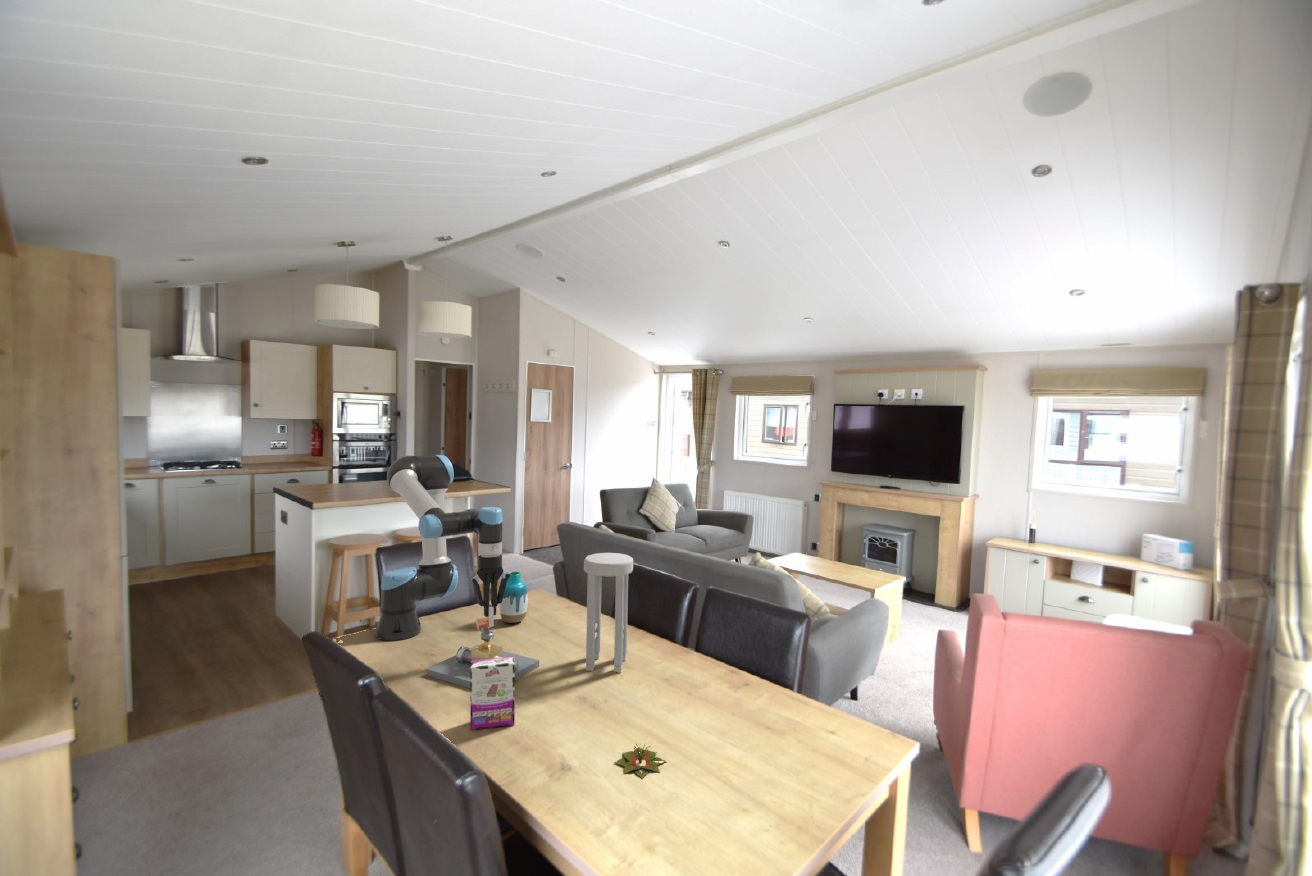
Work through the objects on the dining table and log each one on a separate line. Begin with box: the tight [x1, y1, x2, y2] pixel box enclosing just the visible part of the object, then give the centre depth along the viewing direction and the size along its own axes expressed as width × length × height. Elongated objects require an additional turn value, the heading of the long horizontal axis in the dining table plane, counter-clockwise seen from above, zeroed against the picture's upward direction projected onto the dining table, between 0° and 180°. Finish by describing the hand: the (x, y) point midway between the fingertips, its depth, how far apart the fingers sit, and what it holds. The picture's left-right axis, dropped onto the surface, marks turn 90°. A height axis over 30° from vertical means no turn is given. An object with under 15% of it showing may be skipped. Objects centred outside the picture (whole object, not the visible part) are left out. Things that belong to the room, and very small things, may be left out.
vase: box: [499, 570, 529, 624], centre depth 228 cm, size 11×11×19 cm
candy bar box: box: [469, 657, 516, 731], centre depth 153 cm, size 11×5×16 cm, turn 105°
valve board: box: [425, 644, 540, 689], centre depth 184 cm, size 26×22×2 cm
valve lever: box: [475, 617, 494, 642], centre depth 188 cm, size 4×16×2 cm, turn 24°
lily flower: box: [613, 743, 666, 780], centre depth 137 cm, size 12×12×5 cm
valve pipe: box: [455, 640, 519, 673], centre depth 183 cm, size 21×6×9 cm, turn 64°
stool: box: [583, 552, 634, 674], centre depth 191 cm, size 16×16×35 cm
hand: (490, 625), depth 194 cm, fingers closed
